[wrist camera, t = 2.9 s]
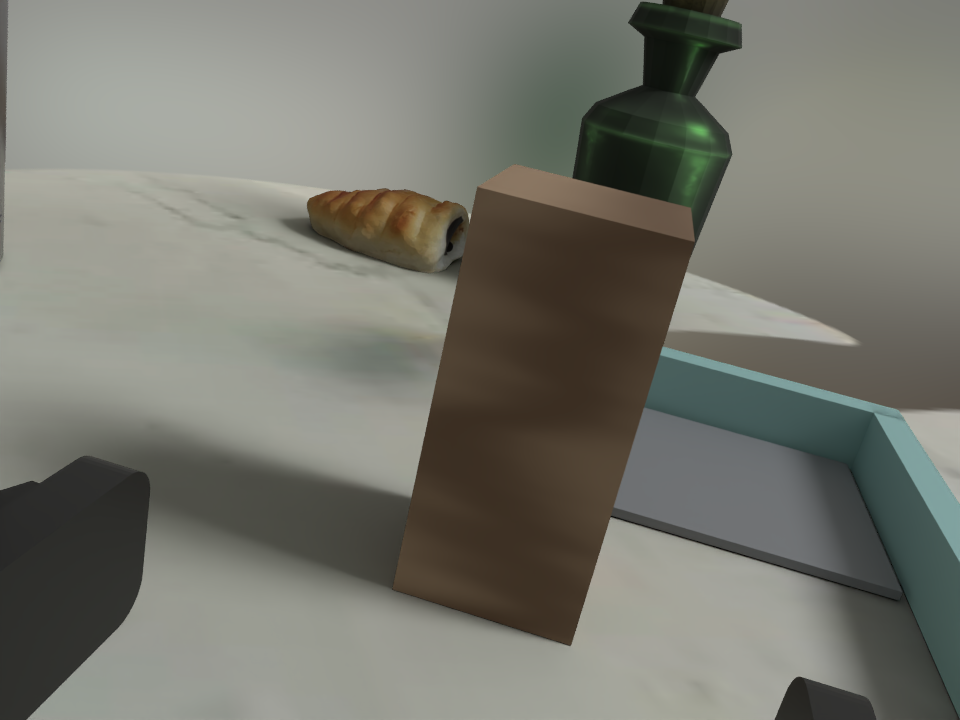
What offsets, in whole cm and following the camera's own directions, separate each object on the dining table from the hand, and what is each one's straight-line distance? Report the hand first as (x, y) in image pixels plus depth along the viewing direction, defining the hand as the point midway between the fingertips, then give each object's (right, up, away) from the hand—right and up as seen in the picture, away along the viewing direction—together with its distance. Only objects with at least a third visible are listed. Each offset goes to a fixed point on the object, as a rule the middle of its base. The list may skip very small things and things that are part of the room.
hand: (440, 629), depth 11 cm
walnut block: (+1, -2, +13) cm, 13 cm away
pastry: (-5, +9, +40) cm, 42 cm away
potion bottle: (+8, +6, +40) cm, 41 cm away
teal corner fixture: (+8, -2, +18) cm, 19 cm away
